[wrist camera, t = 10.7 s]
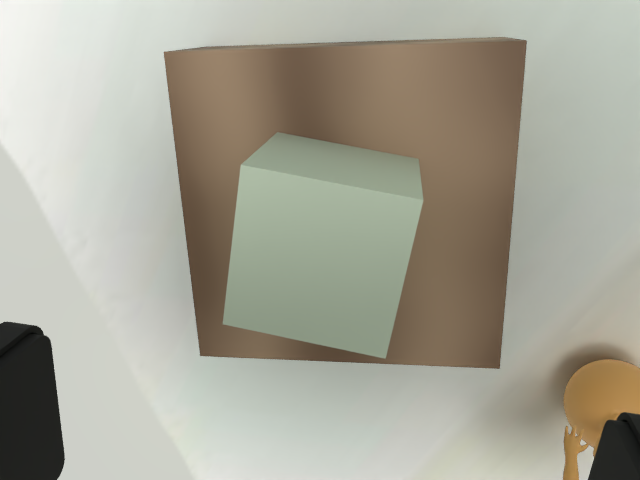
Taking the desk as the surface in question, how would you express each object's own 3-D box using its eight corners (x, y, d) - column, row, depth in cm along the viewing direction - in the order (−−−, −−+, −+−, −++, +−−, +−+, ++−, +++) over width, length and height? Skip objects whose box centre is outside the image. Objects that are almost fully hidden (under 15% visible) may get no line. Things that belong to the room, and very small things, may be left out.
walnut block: (502, 36, 23) (527, 40, 18) (483, 309, 27) (499, 368, 23) (208, 46, 25) (163, 51, 20) (233, 302, 29) (200, 355, 24)
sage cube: (418, 158, 20) (423, 200, 16) (389, 287, 22) (385, 358, 17) (277, 132, 20) (241, 164, 16) (259, 260, 22) (222, 324, 18)
